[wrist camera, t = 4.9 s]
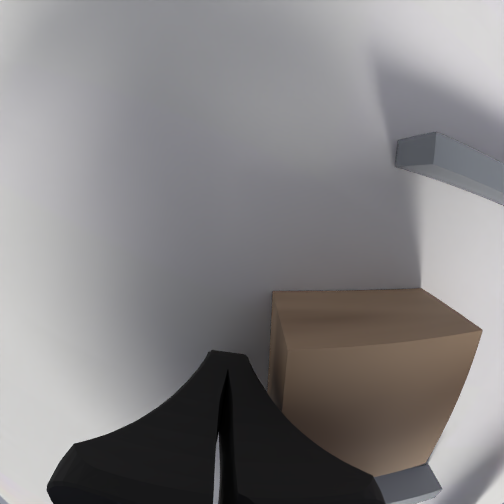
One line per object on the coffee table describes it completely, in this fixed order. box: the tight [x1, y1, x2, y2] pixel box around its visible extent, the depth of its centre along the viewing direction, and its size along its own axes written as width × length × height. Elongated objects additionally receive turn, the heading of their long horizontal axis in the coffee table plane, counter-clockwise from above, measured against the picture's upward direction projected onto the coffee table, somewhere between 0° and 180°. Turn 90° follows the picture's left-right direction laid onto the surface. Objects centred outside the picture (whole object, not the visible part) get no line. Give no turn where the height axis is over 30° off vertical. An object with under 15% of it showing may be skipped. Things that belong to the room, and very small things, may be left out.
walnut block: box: [267, 288, 483, 477], centre depth 9 cm, size 6×6×4 cm
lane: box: [374, 132, 504, 504], centre depth 11 cm, size 18×9×2 cm, turn 171°
